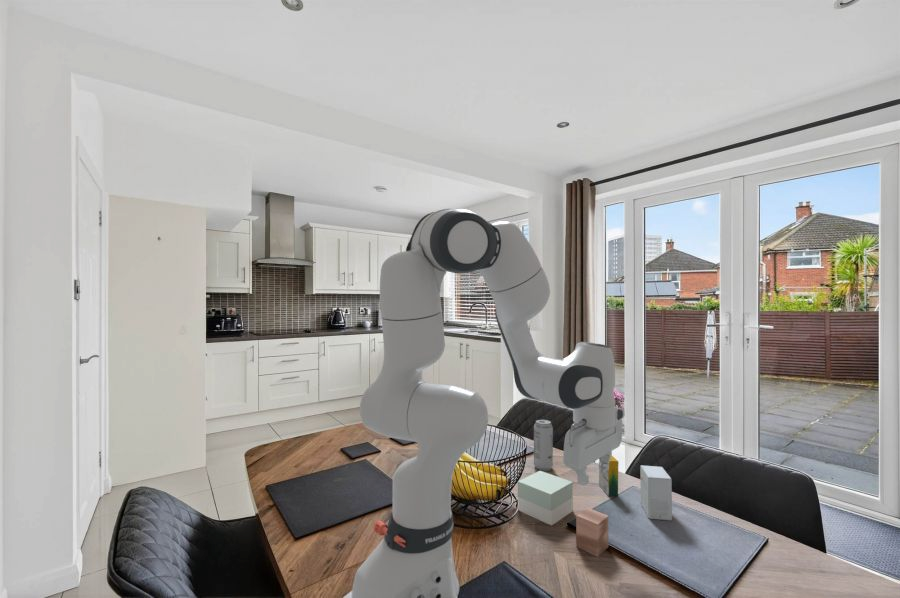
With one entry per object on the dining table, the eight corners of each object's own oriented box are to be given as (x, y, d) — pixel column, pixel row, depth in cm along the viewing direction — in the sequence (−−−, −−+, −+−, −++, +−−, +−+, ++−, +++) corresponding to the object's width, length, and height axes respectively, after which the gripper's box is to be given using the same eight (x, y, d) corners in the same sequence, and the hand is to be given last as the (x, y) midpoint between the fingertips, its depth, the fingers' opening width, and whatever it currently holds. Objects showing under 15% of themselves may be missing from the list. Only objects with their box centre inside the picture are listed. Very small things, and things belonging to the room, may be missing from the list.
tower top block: (550, 510, 101) (550, 494, 101) (517, 496, 108) (517, 481, 108) (572, 497, 108) (572, 482, 108) (540, 485, 115) (540, 470, 115)
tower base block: (551, 527, 101) (551, 510, 101) (518, 512, 108) (518, 496, 108) (572, 512, 108) (572, 497, 108) (540, 499, 115) (540, 484, 115)
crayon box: (618, 496, 116) (618, 454, 116) (608, 496, 116) (608, 454, 116) (608, 484, 123) (608, 445, 123) (598, 484, 123) (598, 445, 123)
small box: (672, 521, 103) (672, 479, 103) (647, 519, 104) (648, 477, 104) (662, 505, 111) (662, 466, 111) (640, 503, 112) (640, 464, 112)
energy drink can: (553, 472, 132) (553, 424, 132) (534, 470, 133) (534, 424, 133) (551, 464, 138) (551, 419, 138) (533, 463, 139) (533, 418, 139)
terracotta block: (597, 557, 89) (597, 524, 89) (576, 546, 92) (576, 515, 92) (608, 547, 92) (608, 515, 92) (587, 537, 96) (587, 507, 96)
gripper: (583, 429, 83) (583, 498, 83) (627, 408, 97) (627, 467, 97) (555, 422, 87) (555, 487, 88) (601, 403, 101) (601, 459, 102)
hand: (593, 476), depth 92 cm, fingers open, 8 cm apart
